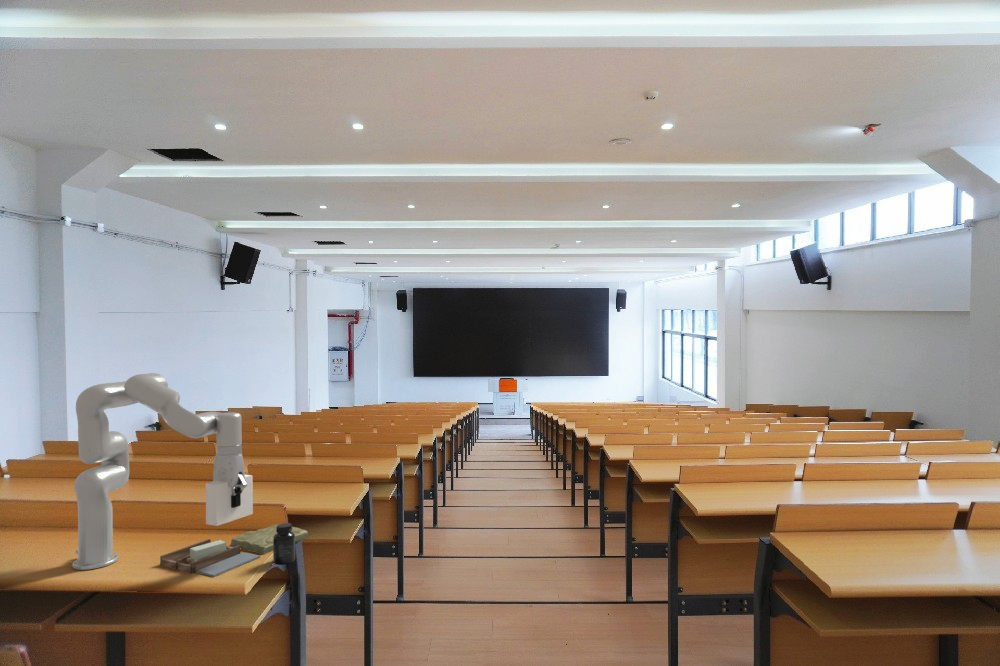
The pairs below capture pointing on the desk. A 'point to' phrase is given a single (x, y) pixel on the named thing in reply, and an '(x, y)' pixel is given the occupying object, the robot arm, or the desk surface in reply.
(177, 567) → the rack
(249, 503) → the off-white rectangular prism
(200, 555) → the offcut upper
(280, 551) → the supplement bottle
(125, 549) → the desk surface
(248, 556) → the mat
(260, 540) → the decorative tile
